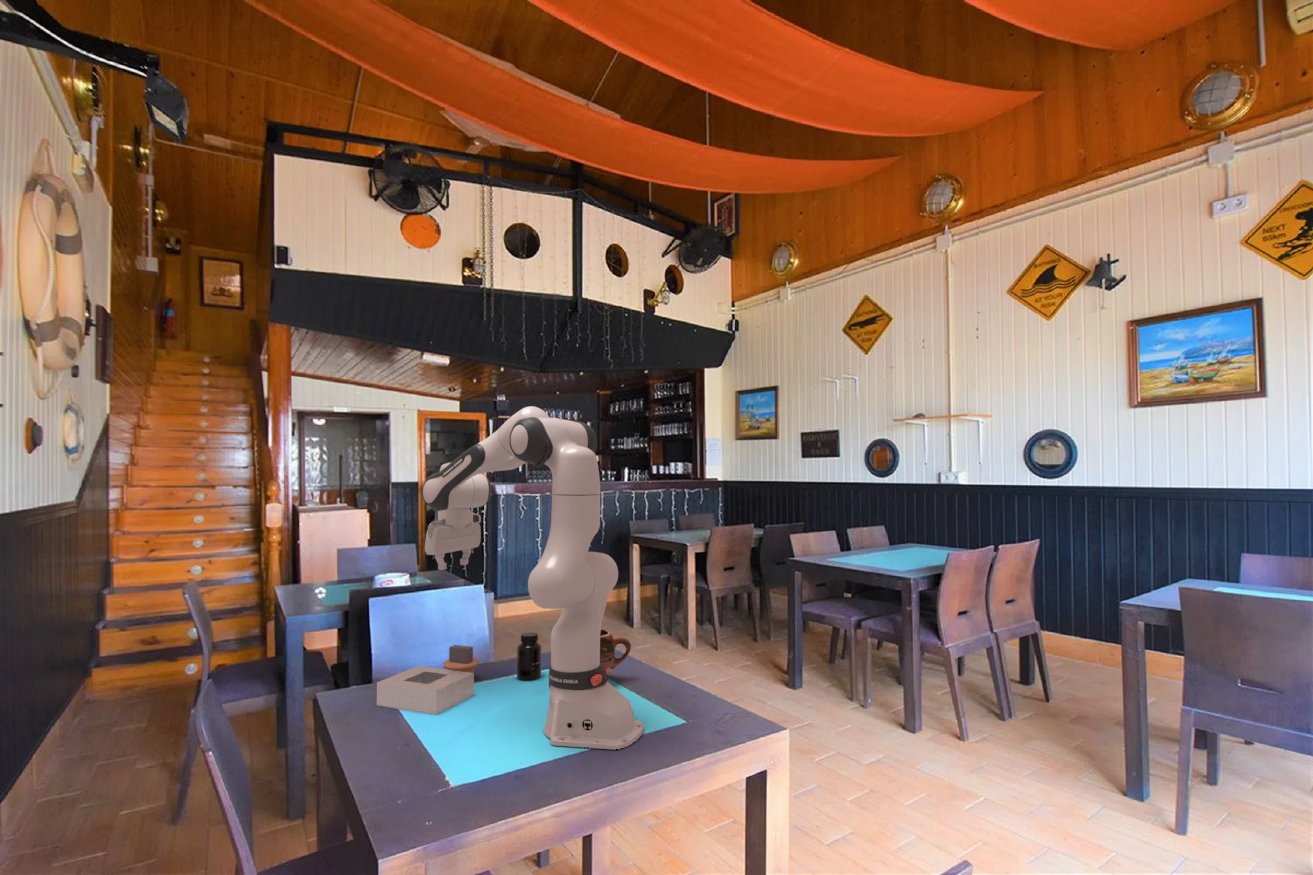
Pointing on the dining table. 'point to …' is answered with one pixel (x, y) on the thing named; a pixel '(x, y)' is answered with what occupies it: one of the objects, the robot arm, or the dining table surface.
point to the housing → (425, 689)
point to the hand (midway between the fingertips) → (453, 567)
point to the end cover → (461, 659)
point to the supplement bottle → (529, 657)
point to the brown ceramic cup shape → (611, 649)
